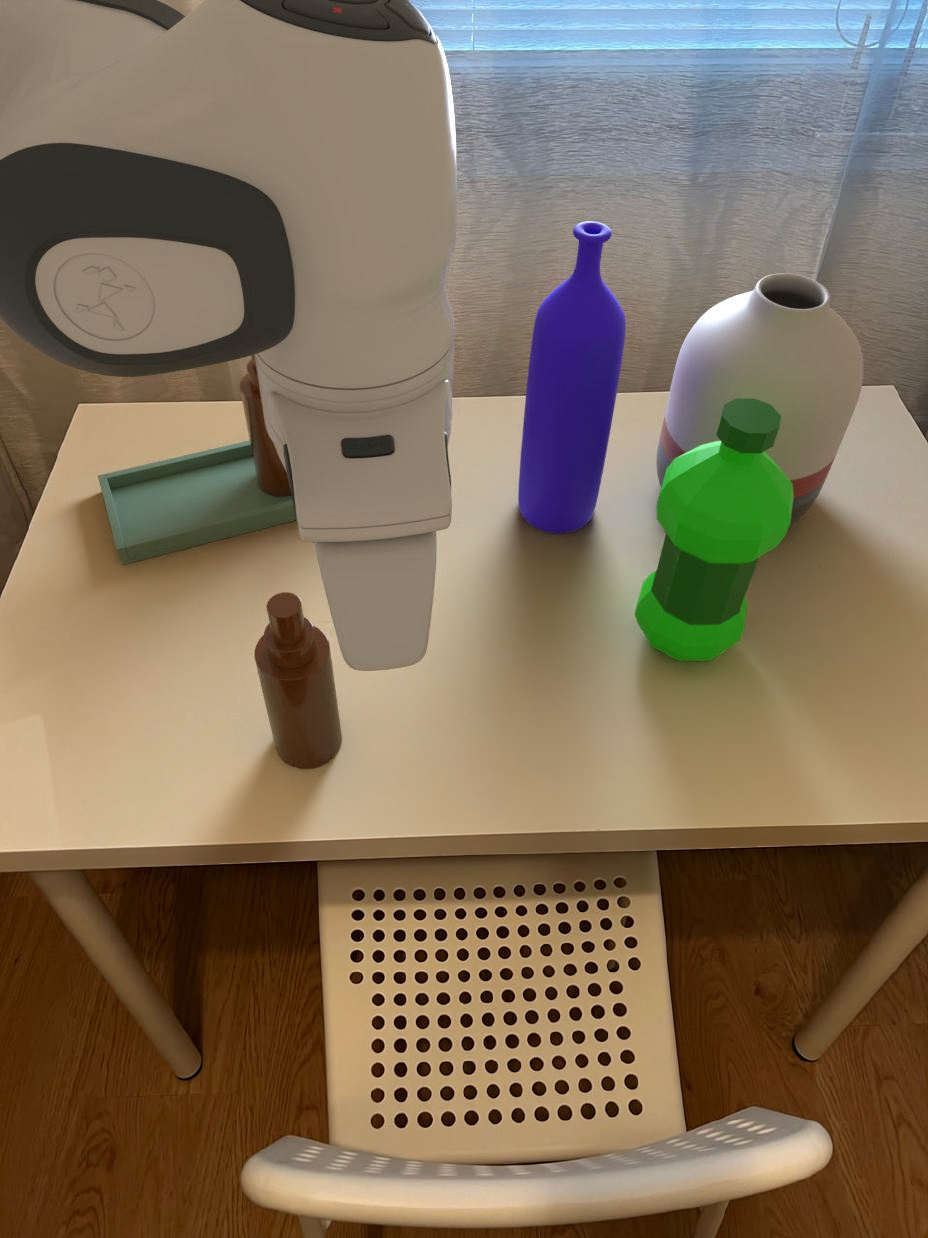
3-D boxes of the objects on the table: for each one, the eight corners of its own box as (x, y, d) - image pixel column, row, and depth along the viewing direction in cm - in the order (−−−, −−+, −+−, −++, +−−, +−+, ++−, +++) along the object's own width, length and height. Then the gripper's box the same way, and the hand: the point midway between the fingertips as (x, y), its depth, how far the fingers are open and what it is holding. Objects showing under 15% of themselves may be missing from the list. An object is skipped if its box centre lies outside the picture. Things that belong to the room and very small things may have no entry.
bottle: (598, 537, 95) (650, 256, 72) (516, 535, 95) (543, 253, 72) (592, 483, 100) (639, 206, 78) (515, 481, 100) (538, 203, 78)
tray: (122, 565, 91) (116, 549, 89) (103, 490, 98) (97, 475, 96) (426, 486, 99) (426, 470, 98) (389, 423, 106) (388, 407, 105)
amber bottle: (285, 778, 76) (255, 644, 63) (267, 725, 79) (235, 588, 66) (350, 756, 77) (334, 621, 64) (330, 705, 80) (310, 567, 68)
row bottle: (265, 502, 96) (239, 359, 83) (251, 469, 99) (224, 327, 87) (316, 489, 98) (299, 346, 85) (301, 457, 101) (282, 315, 88)
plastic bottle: (703, 586, 91) (774, 363, 72) (759, 668, 84) (853, 447, 65) (608, 609, 88) (656, 385, 70) (658, 695, 82) (725, 474, 63)
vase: (763, 435, 106) (829, 234, 88) (841, 536, 96) (934, 330, 78) (624, 459, 103) (664, 254, 85) (689, 566, 92) (750, 358, 75)
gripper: (280, 274, 50) (306, 476, 60) (298, 544, 36) (327, 743, 47) (399, 268, 50) (404, 468, 61) (459, 530, 37) (452, 728, 48)
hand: (371, 590), depth 54 cm, fingers open, 8 cm apart
